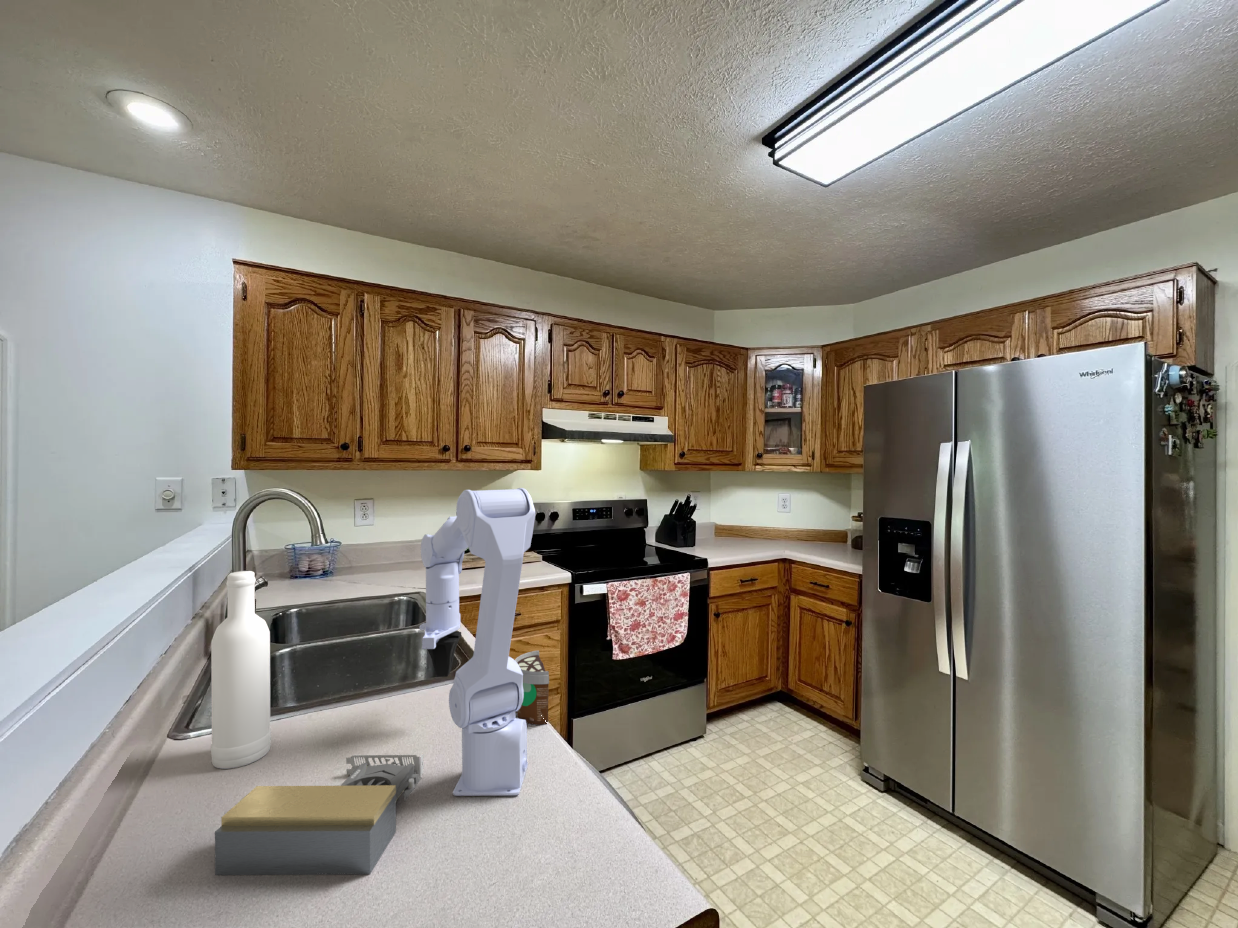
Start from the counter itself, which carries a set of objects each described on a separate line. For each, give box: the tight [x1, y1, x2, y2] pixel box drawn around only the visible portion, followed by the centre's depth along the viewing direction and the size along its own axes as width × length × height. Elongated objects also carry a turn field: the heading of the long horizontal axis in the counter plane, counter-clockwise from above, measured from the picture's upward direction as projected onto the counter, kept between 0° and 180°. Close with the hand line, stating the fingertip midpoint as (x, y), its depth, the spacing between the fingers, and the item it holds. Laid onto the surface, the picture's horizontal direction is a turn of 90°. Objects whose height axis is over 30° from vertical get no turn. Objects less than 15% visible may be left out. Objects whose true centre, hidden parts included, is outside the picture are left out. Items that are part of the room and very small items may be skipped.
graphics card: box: [340, 752, 425, 802], centre depth 73 cm, size 17×4×12 cm
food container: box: [514, 650, 550, 726], centre depth 99 cm, size 12×6×10 cm, turn 17°
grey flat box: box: [214, 785, 397, 876], centre depth 64 cm, size 18×7×6 cm, turn 90°
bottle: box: [210, 570, 272, 770], centre depth 86 cm, size 8×8×30 cm
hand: (443, 675), depth 95 cm, fingers closed
